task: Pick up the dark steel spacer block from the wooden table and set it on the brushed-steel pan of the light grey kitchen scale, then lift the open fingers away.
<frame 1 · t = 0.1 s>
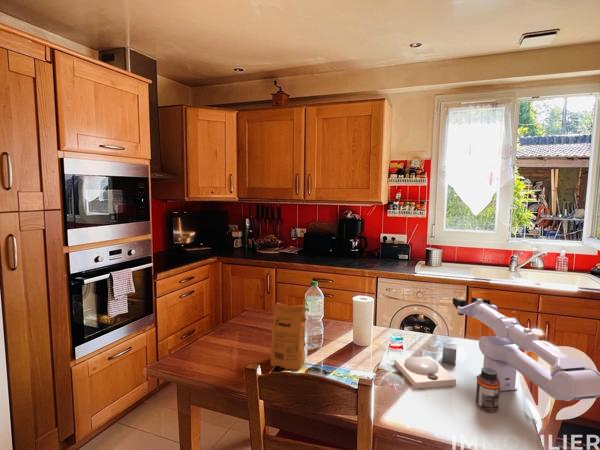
hand: (462, 300, 135), 22 cm above the table, tool horizontal, fingers open, 7 cm apart
steel spacer: (448, 361, 132), on the table
coffee package: (287, 363, 128), on the table
kitchen scale: (423, 373, 122), on the table
supplement bottle: (486, 407, 104), on the table
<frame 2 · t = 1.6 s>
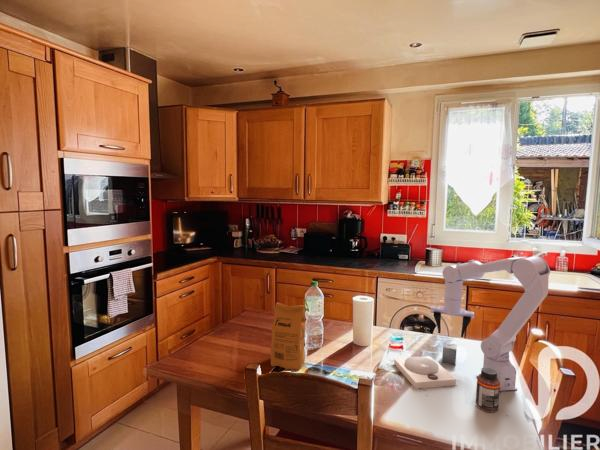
hand: (450, 334, 131), 10 cm above the table, tool pointing down, fingers open, 7 cm apart
nothing on the table moved.
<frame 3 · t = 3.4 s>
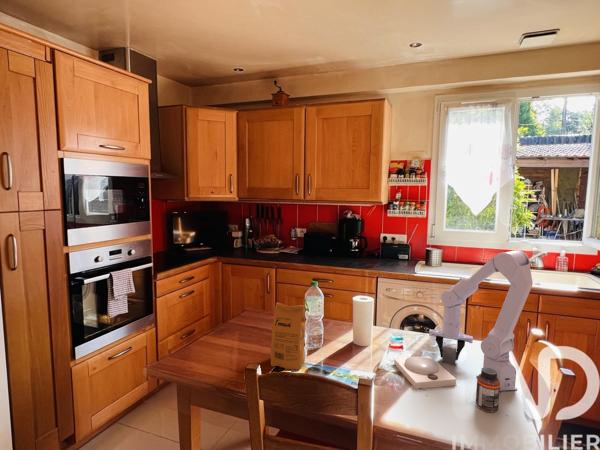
hand: (449, 357, 131), 1 cm above the table, tool pointing down, fingers closed on steel spacer, 4 cm apart
steel spacer: (448, 361, 132), on the table, touching gripper
everything else where it was.
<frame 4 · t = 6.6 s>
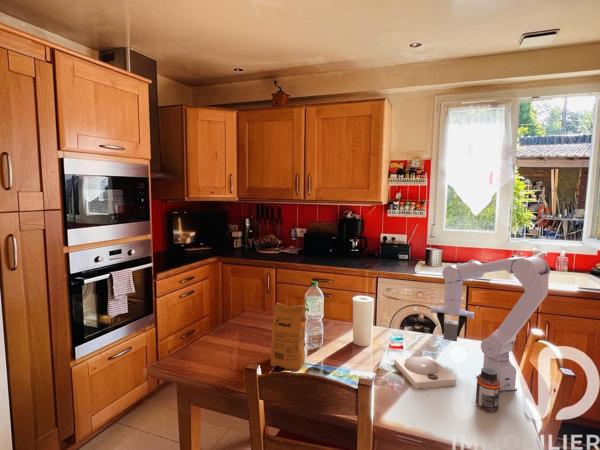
hand: (450, 334, 130), 10 cm above the table, tool pointing down, fingers closed on steel spacer, 4 cm apart
steel spacer: (450, 338, 131), point 9 cm above the table, touching gripper
everything else where it was.
when the fingers open (5 cm above the table, at t = 9.8 s): steel spacer drops 1 cm, resting on kitchen scale.
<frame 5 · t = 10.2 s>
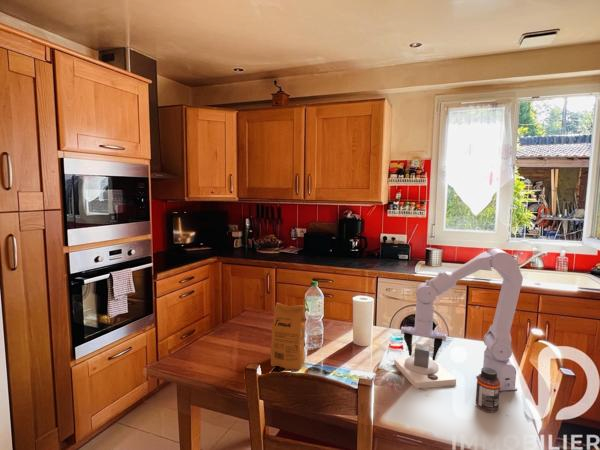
hand: (421, 356, 123), 5 cm above the table, tool pointing down, fingers open, 7 cm apart
steel spacer: (421, 363, 124), point 3 cm above the table, touching kitchen scale
everything else where it was.
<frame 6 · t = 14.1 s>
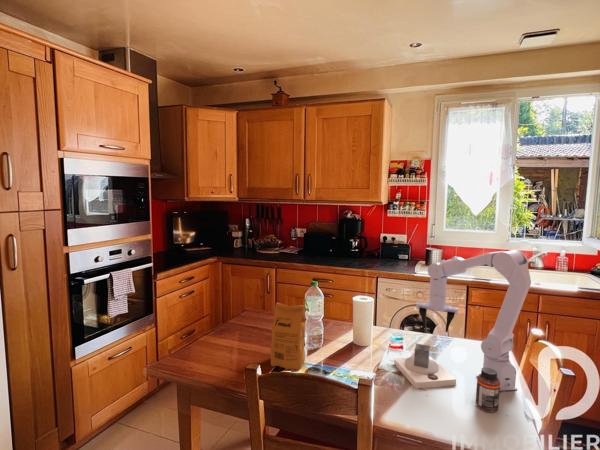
hand: (435, 329, 135), 10 cm above the table, tool pointing down, fingers open, 7 cm apart
nothing on the table moved.
at the end: steel spacer inside the target area on the kitchen scale (0.1 cm from its centre), point 2.8 cm above the kitchen scale's base; steel spacer tilted 0°; the gripper is holding nothing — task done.
